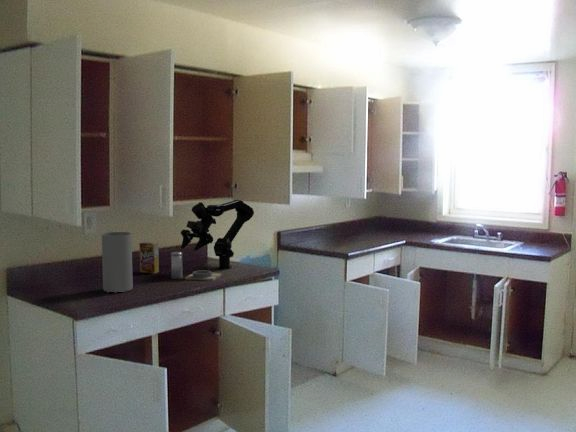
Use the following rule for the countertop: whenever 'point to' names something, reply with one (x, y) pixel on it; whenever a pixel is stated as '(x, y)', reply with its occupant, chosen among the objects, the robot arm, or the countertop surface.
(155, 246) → the candy box
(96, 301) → the countertop surface
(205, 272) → the collar
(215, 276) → the duct board
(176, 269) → the metal canister
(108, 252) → the cylinder vase
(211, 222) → the robot arm
